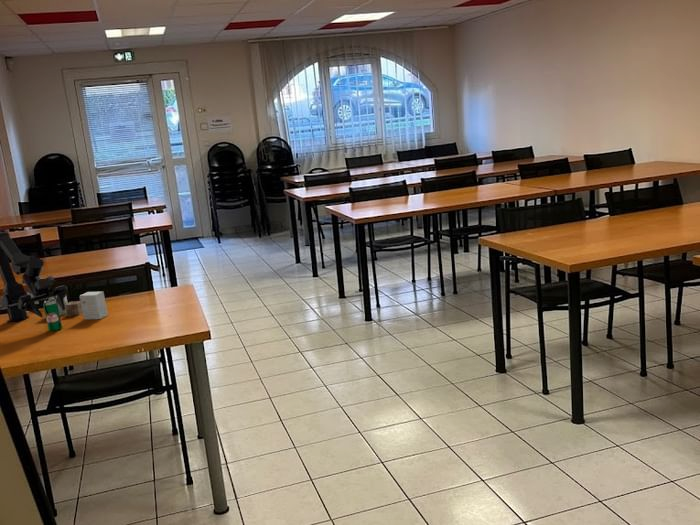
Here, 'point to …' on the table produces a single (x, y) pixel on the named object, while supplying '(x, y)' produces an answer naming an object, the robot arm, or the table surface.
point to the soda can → (52, 315)
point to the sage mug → (60, 307)
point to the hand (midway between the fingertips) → (53, 313)
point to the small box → (93, 305)
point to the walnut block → (74, 308)
